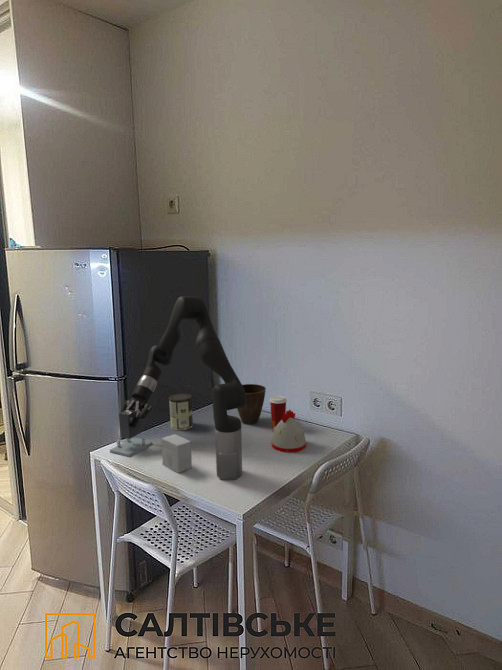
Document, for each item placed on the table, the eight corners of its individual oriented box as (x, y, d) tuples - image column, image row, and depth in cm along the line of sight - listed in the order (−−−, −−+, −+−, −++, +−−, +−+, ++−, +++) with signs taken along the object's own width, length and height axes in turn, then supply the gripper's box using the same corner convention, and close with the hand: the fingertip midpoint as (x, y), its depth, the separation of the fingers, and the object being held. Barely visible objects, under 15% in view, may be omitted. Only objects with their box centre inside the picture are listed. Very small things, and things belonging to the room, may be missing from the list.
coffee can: (183, 420, 221) (182, 391, 218) (197, 425, 214) (196, 396, 211) (165, 426, 213) (164, 397, 211) (179, 432, 206) (178, 401, 204)
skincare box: (192, 467, 172) (191, 440, 170) (178, 473, 168) (177, 446, 166) (176, 459, 180) (175, 433, 178) (162, 464, 175) (160, 438, 173)
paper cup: (290, 426, 211) (289, 396, 208) (281, 432, 204) (281, 401, 202) (274, 423, 215) (274, 394, 212) (266, 429, 208) (266, 398, 206)
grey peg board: (133, 439, 199) (133, 431, 198) (152, 443, 194) (151, 435, 194) (109, 452, 187) (109, 444, 186) (129, 456, 182) (128, 448, 182)
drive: (132, 430, 194) (130, 407, 192) (141, 432, 192) (139, 409, 190) (120, 437, 188) (118, 413, 186) (129, 439, 186) (127, 415, 184)
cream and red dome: (264, 446, 190) (264, 410, 188) (285, 436, 200) (285, 402, 198) (291, 455, 181) (291, 418, 178) (312, 444, 191) (312, 409, 188)
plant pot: (251, 413, 228) (250, 382, 225) (272, 421, 217) (272, 388, 215) (227, 421, 218) (226, 388, 216) (249, 429, 207) (248, 395, 205)
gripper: (127, 382, 196) (108, 419, 188) (154, 386, 189) (135, 424, 181) (136, 390, 202) (118, 427, 193) (163, 395, 195) (145, 432, 187)
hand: (127, 425), depth 187 cm, fingers closed on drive, 4 cm apart
